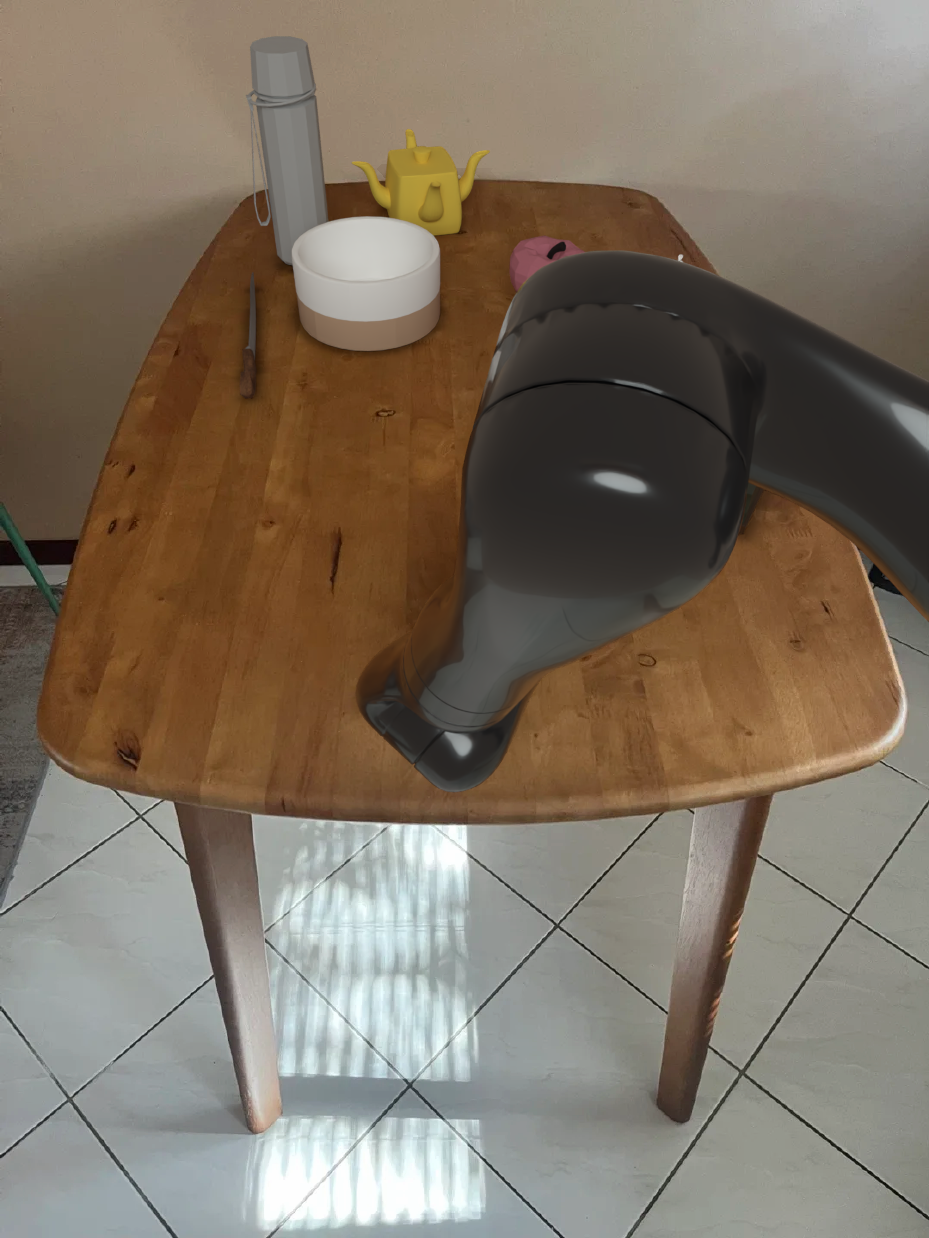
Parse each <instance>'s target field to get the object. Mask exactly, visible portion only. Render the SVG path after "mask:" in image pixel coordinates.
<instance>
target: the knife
mask: <svg viewBox="0 0 929 1238" xmlns="http://www.w3.org/2000/svg"><path fill="white" fill-rule="evenodd" d="M248 328H249V329H248V330H249V331H248V345H247V346H246V347H244V348H242V352H241V353H242V362H243V363H242V364H243V371H240V376H239V395H240V396H242V398H244V399H247V400H249V399H253V398H254V397H255V395H256V390H257V374H258V373H257V372H258V371H257V365H256V342H257V340H256V339H257V305H256V286H255V274H254V271H252V272H251V276H250V282H249V327H248Z"/></svg>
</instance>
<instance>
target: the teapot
mask: <svg viewBox="0 0 929 1238" xmlns="http://www.w3.org/2000/svg"><path fill="white" fill-rule="evenodd" d="M404 132H405V148H398V149H389V151H388V152H387V158H386V166H385V167H386V168H385V176H384V177H385V178H384V179H385V180H384V185H383V184H381V182H380V181H379V178H378V175H377V172H376V170H375V168H374V166H373V165H372V164H371V163H370V162H367V161H360V160H359V161H358V160H357V161H352V162H351V164H352V165H353V166H356V167H357V168H359V169H360V170H362V172H363V173H364V174H365V176H366V179H367V182H368V184H369V189H370V192H371V194H372V196H373V199H374V201H376V203H377V204H378V205H379V206H381V208H383V209H386V212H387V215H388V218H394V219H399V220H403V221H407V222H410V223H413V224H416V225H418V226H420V227H422V228H424V229H426V230H427V231H428V232H430V233H431V234H432V235H433V236H434V237H435V236H443V235H453V234H457V233H459V232H460V230H461V226H462V221H463V220H462V219H463V209H462V208H463V207H462V206H463V205H462V202H464V201H465V200H466V199H467V198H468V197H469V195H470V194H471V192H472V189H473V186H474V181H475V176H476V171H477V167H478V166H479V163H480V161H481V160H482V159H483V158H484V157H485V156H486V155H488V154H489V153H490V152H491V150H489V149H484V150H479V151H476V152H473V153H472V155H471V156H469V159H468V160H467V162H466V166H465V170H464V172H463V174H462V176H460V178H459V174H458V169H457V166H456V164H455V162H454V160H453V158H452V156H451V155H450V153H449V152H448V151H447V150H446V148H444V147H443V146H441V145H438V146H435V145H434V146H425V145H419V146H418V144H417V138H416V134H415V132H414V130H412V129H411V128H407V129H405V131H404Z"/></svg>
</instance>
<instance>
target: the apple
mask: <svg viewBox="0 0 929 1238" xmlns="http://www.w3.org/2000/svg"><path fill="white" fill-rule="evenodd" d="M584 252H585V251H584V250H583V249H582V248H579V247H578V246H576V244H574V243H573V242H572V240H568V239H560V238H559V239H558V238H555V237H550V236H547V235H539V236H535V237H529V238H526V239H523V240H520V241H519V242H518V244H517V245H516V246H515V247H514V248H513V249H512V252H511V254H510V256H509V278H510V284H511V285H512V287H513V289H514V291H515V293H516V292H517V291H518V289H519V288H520V287H521V285H522V284H523V283H524V282H525V281H526V280H527V279H528V278H529V277H530V276H532V275H533V274H534V273H535V272H536V271H537V270H539V269H540V268H541V267H543V266H545V265H547V264H550V263H552V262H554V261H556V260H559V259H561V258H563V257H565V256H570V255H575V254H580V253H584Z"/></svg>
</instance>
